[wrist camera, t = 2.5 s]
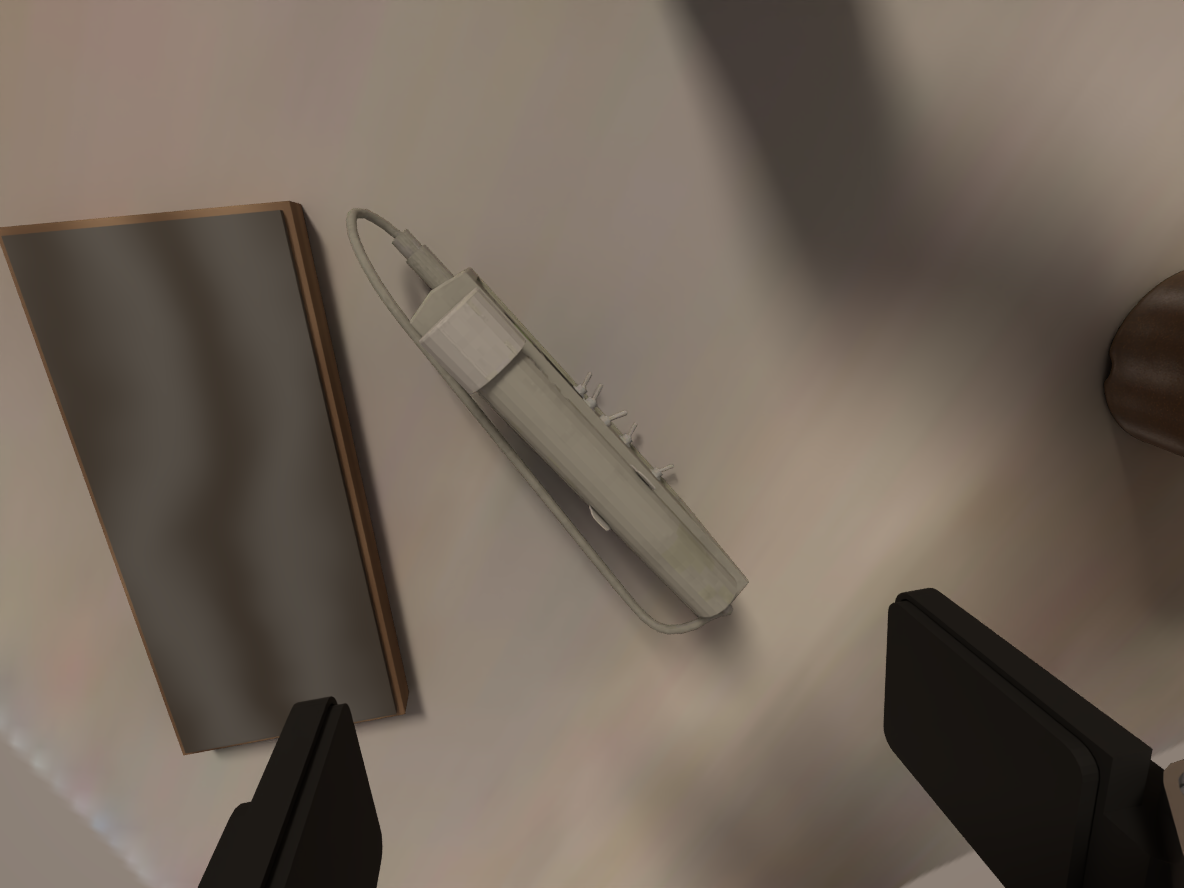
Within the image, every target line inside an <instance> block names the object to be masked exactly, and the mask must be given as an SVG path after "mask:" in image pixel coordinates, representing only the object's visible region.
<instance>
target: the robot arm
mask: <svg viewBox="0 0 1184 888" xmlns="http://www.w3.org/2000/svg"><path fill="white" fill-rule="evenodd" d="M884 733H885V737H886V740H887V742H888V744H889V746H890V748H891V749H892V750H893V752H894V753H895V754H896V755H897V757H898V758H899V759H900V760H901V762H902V763H903V764H904V765H905V766H906V768H907V769H908V770H909V771H910V772H911V774H912V775H913V776H914V777H915V779H916V780H917V781H918V782H919V783H920V785H921V786H922V787H923V788H924V789H925V791H926V792H927V793H928V794H929V796H930V797H931V798H932V799H933V800H934V802H935V803H936V804H937V805H938V806H939V808H940V809H941V810H942V811H943V813H944V814H945V815H946V816H947V817H948V819H949V820H950V821H951V822H952V824H953V825H954V826H955V827H956V828H957V830H958V831H959V832H960V833H961V834H962V836H963V837H964V838H965V839H966V841H967V842H968V843H969V844H970V845H971V847H972V848H973V849H974V850H975V851H976V853H977V854H978V855H979V856H980V858H981V859H982V860H983V861H984V862H985V864H986V865H987V866H988V867H989V868H990V870H991V871H992V872H993V873H994V874H995V876H996V877H997V878H998V879H999V881H1000V882H1001V883H1002V884H1003V885H1004V887H1005V888H1184V759H1183V760H1180V761H1177V762H1174V763H1171V764H1170V765H1169V766H1168V767H1167V768H1166V769H1165V770H1164V769H1162V768H1161V767H1160V766H1158V765H1157V764H1156V763H1154V762H1153V761H1152V760H1151V754H1152V748H1151V747H1149V746H1148V745H1146V744H1145V743H1144V742H1142V741H1141V740H1140V739H1138V738H1137V737H1136V736H1134V735H1133V734H1132V733H1130V732H1129V731H1127V730H1126V729H1125V728H1123V727H1122V726H1121V725H1119V724H1118V723H1117V722H1115V721H1114V720H1113V719H1111V718H1110V717H1109V716H1107V715H1106V714H1104V713H1103V712H1102V711H1100V710H1099V709H1098V708H1096V707H1095V706H1094V705H1092V704H1091V703H1090V702H1088V701H1087V700H1085V699H1084V698H1083V697H1081V696H1080V695H1079V694H1077V693H1076V692H1075V691H1073V690H1072V689H1071V688H1069V687H1068V686H1067V685H1065V684H1064V683H1062V682H1061V681H1060V680H1058V679H1057V678H1056V677H1054V676H1053V675H1052V674H1050V673H1049V672H1048V671H1046V670H1045V669H1043V668H1042V667H1041V666H1039V665H1038V664H1037V663H1035V662H1034V661H1033V660H1031V659H1030V658H1029V657H1027V656H1026V655H1025V654H1023V653H1022V652H1020V651H1019V650H1018V649H1016V648H1015V647H1014V646H1012V645H1011V644H1010V643H1008V642H1007V641H1006V640H1004V639H1003V638H1001V637H1000V636H999V635H997V634H996V633H995V632H993V631H992V630H991V629H989V628H988V627H987V626H985V625H984V624H983V623H981V622H980V621H978V620H977V619H976V618H974V617H973V616H972V615H970V614H969V613H968V612H966V611H965V610H964V609H962V608H961V607H959V606H958V605H957V604H955V603H954V602H953V601H951V600H950V599H949V598H947V597H946V596H945V595H943V594H942V593H941V592H939V591H938V590H936V589H934V588H926V589H920V590H915V591H909V592H904V593H900V594H899V595H898V596H897V598H896V600H895V603H892V604H891V605H890V606H889V610H888V629H887V654H886V678H885V703H884ZM381 859H382V834H381V829H380V825H379V821H378V817H377V813H376V809H375V805H374V802H373V798H372V794H371V790H370V786H369V782H368V778H367V774H366V770H365V766H364V762H363V758H362V754H361V750H360V746H359V742H358V738H357V734H356V730H355V726H354V722H353V718H352V714H351V711H350V708H349V706H348V704H346V703H344V704H338V703H337V701H336V699H335V698H334V697H332V696H330V697H324V698H319V699H313V700H308V701H302V702H297V703H295V704H294V705H293V707H292V709H291V711H290V713H289V716H288V718H287V720H286V722H285V725H284V727H283V729H282V732H281V734H280V736H279V739H278V741H277V743H276V746H275V748H274V750H273V752H272V755H271V757H270V759H269V762H268V764H267V766H266V769H265V771H264V773H263V776H262V778H261V780H260V782H259V785H258V787H257V789H256V792H255V794H254V796H253V799H252V801H251V802H247V803H242V804H240V805H239V806H238V807H237V808H235V810H234V812H233V813H232V815H231V817H230V818H229V820H228V823H227V825H226V827H225V829H224V831H223V834H222V836H221V838H220V840H219V842H218V844H217V847H216V849H215V851H214V853H213V855H212V857H211V860H210V862H209V864H208V866H207V868H206V871H205V873H204V875H203V877H202V879H201V881H200V884H199V886H198V888H377V882H378V876H379V871H380V865H381Z"/></svg>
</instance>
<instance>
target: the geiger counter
mask: <svg viewBox="0 0 1184 888" xmlns="http://www.w3.org/2000/svg"><path fill="white" fill-rule="evenodd" d="M357 218H365V219H367V220H369V221H371V222H373V223H374V224H376V225H378V226H379V227H381V228H382V229H384V230H385V231H386V232H387V233H389V234H390V235H391V236H392V237H394V238H395V239H394V240H393V242H392V244H393V245H394V246H395V247H396V248H397V249H398V250H399V251H400V252H401V254H402V255H403V256H404V257H405V258H406V259H407V261H406V263H407V264H408V265H409V266H410V267H411V268H412V269H413V270H414V271H415V272H416V273H417V274H418V275H419V276H420V278H421V279H422V280H423V281H424V282H425V283H426V284H427V285H428V286H429V287H430V288H431V289H432V290H431V291H430V293H429V294H428V296H427V297H426V299H425V300H424V301H423V303H422V304H421V306H420V307H419V309H418V310H417V311H416V313H415V314H414V316H413V317H412V319H411V320H410V321H409V319H408V318H407V317H406V315H405V314H404V313H403V311H402V310H401V309H400V307H399V306H398V305H397V303H396V302H395V301H394V299H393V298H392V296H391V295H390V293H389V292H388V290H387V289H386V287H385V286H384V284H383V283H382V281H381V280H380V278H379V276H378V275H377V273H376V271H375V269H374V268H373V266H372V264H371V262H370V260H369V259H368V257H367V255H366V253H365V250H364V248H363V246H362V243H361V241H360V238H359V235H358V232H357V222H356V221H357ZM346 226H347V234H348V237H349V240H350V243H351V245H352V248H353V250H354V253H355V255H356V257H357V259H358V261H359V263H360V265H361V267H362V269H363V271H364V272H365V274H366V276H367V278H368V279H369V281H370V283H371V284H372V286H373V288H374V289H375V291H376V292H377V294H378V295H379V297H380V298H381V300H382V301H383V303H384V304H385V305H386V307H387V308H388V309H389V311H390V312H391V313H392V315H393V316H394V317H395V319H396V320H397V321H398V323H399V324H400V325H401V326H402V328H403V329H404V330H405V331H406V333H407V334H408V335H409V336H410V338H411V339H412V340H413V341H414V343H415V344H416V345H417V346H418V347H419V349H420V350H421V351H422V352H423V354H424V355H425V356H426V357H427V359H428V360H429V361H430V362H431V364H432V365H433V366H434V367H435V368H436V370H437V371H438V372H439V373H440V375H441V376H442V377H443V378H444V380H445V381H446V382H447V383H448V385H449V386H450V387H451V388H452V389H453V391H454V392H455V393H456V394H457V396H458V397H459V398H460V399H461V401H462V402H463V403H464V404H465V405H466V407H467V408H468V409H469V410H470V412H471V413H472V414H473V415H474V417H475V418H476V419H477V420H478V422H479V423H480V424H481V425H482V426H483V428H484V429H485V430H486V431H487V433H488V434H489V435H490V436H491V438H492V439H493V440H494V441H495V443H496V444H497V445H498V446H499V447H500V449H501V450H502V451H503V452H504V454H505V455H506V456H507V457H508V459H509V460H510V461H511V462H512V464H513V465H514V466H515V467H516V468H517V470H518V471H519V472H520V473H521V475H522V476H523V477H524V478H525V480H526V481H527V482H528V483H529V485H530V486H531V487H532V488H533V489H534V491H535V492H536V493H537V494H538V496H539V497H540V498H541V499H542V501H543V502H544V503H545V504H546V505H547V507H548V508H549V509H550V510H551V512H552V513H553V514H554V515H555V517H556V518H557V519H558V520H559V522H560V523H561V524H562V525H563V526H564V528H565V529H566V530H567V531H568V533H569V534H570V535H571V536H572V538H573V539H574V540H575V541H576V543H577V544H578V545H579V546H580V547H581V549H582V550H583V551H584V552H585V554H586V555H587V556H588V557H589V559H590V560H591V561H592V562H593V564H594V565H595V566H596V567H597V568H598V570H599V571H600V572H601V573H602V575H603V576H604V577H605V578H606V580H607V581H608V582H609V583H610V585H611V586H612V587H613V588H614V589H615V591H616V592H617V593H618V594H619V595H620V597H621V598H622V599H623V600H624V601H625V602H626V604H627V605H628V606H629V607H630V608H631V609H632V611H633V612H634V613H635V614H636V615H637V616H638V617H639V618H640V619H641V620H642V621H643V622H645V623H646V624H647V625H648V626H649V627H651V628H653V629H654V630H656V631H658V632H661V633H665V634H682V633H686V632H689V631H692V630H696V629H698V628H699V627H701V626H703V625H704V624H706V623H707V622H709V621H711V620H713V619H716V618H719V617H721V616H726V615H730V614H731V613H732V611H733V608H732V606H731V603H732V602H733V601H734V600H735V598H736V597H737V596H738V595H739V594H740V592H741V591H742V590H743V589H744V588H745V586H746V585H747V584H748V583H749V582H748V579H747V578H746V577H745V576H744V575H743V573H742V572H741V571H740V570H739V569H738V567H737V566H736V565H735V564H734V562H733V561H732V560H731V559H730V558H729V556H728V555H727V554H726V553H725V551H724V550H723V549H722V548H721V547H720V545H719V544H718V543H717V542H716V540H715V539H714V538H713V537H712V536H711V534H710V533H709V532H708V531H707V529H706V528H705V527H704V526H703V525H702V523H701V522H700V521H699V520H698V518H697V517H696V516H695V515H694V514H693V512H692V511H691V510H690V509H689V507H688V506H687V505H686V504H685V503H684V501H683V500H682V499H681V498H680V497H679V496H678V495H677V494H676V493H675V491H674V490H673V489H672V488H671V487H670V486H669V485H668V484H667V483H666V482H665V480H664V479H663V478H662V477H661V476H662V475H663V474H662V473H661V472H663V471H666V470H668V469H671V468H673V467H674V465H673V464H671V465H668V466H666V467H664V468H662V469H659V468H656V467H655V468H653V467H652V466H651V465H650V464H649V463H648V462H647V461H646V460H645V458H644V457H643V456H642V455H641V454H640V453H639V452H638V451H637V450H636V449H635V447H634V446H633V445H632V444H631V442H632V440H631V435H632V433H633V432H634V430H635V428H636V426H637V424H636V423H634V424H633V425H632V427H631V429H630V431H629V433H628V435H626V434H624V435H623V434H622V433H621V432H620V431H619V430H618V429H617V428H616V427H615V425H614V424H613V423H612V422H611V421H612V420H614V419H617V418H620V417H623V416H626V415H627V411H625V410H624V411H622V412H619V413H617V414H615V415H612V416H610V417H608V416H605V414H604V413H603V412H602V411H601V410H600V409H599V408H598V407H597V404H596V398H597V396H598V395H599V393H600V391H601V389H602V387H603V385H602V384H599V385H598V387H597V389H596V391H595V393H594V395H593V398H591V397H590V396H589V397H588V396H587V395H586V394H585V393H586V392H587V391H586V385H587V383H588V381H589V379H590V378H591V376H592V373H591V372H589V373H588V374H587V377H586V379H585V381H584V383H583V385H581V384H579V385H577V384H576V383H575V381H574V380H573V379H572V378H571V377H570V376H569V375H568V374H567V373H566V372H565V370H564V369H563V368H562V367H561V366H560V365H559V364H558V363H557V362H556V361H555V359H554V358H553V357H552V356H551V355H550V354H549V353H548V352H547V351H546V350H545V349H544V347H543V346H542V345H541V344H540V343H539V342H538V341H537V340H536V339H535V338H534V336H533V335H532V334H531V333H530V332H529V331H528V330H527V329H526V328H525V327H524V325H523V324H522V323H521V322H520V321H519V320H518V319H517V318H516V317H515V316H514V314H513V313H512V312H511V311H510V310H509V309H508V308H507V307H506V306H505V305H504V303H503V302H502V301H501V300H500V299H499V298H498V297H497V296H496V295H495V294H494V292H493V291H492V290H491V289H490V288H489V287H488V286H487V285H486V284H485V283H484V281H483V280H482V279H481V278H480V277H479V276H478V275H477V274H476V273H475V272H474V270H473V269H472V268H470V267H469V268H467V269H466V270H464V271H462V272H461V273H459V274H457V275H456V276H453V274H452V273H451V272H450V271H449V270H448V269H447V268H446V267H445V266H444V265H443V264H442V263H441V262H440V260H439V259H438V258H437V257H436V256H435V255H434V254H433V253H432V252H431V251H430V250H429V249H428V247H427V246H426V245H423V246H422V245H421V244H420V243H419V242H418V241H417V240H416V238H415V237H414V236H413V235H412V234H411V233H410V232H409V231H408V230H407V229H406V230H404V231H403V232H400V231H399V230H398V229H396V228H395V227H394V226H393V225H392V224H390V223H389V222H388V221H386V220H385V219H383V218H382V217H380V216H379V215H377V214H375V213H373V212H371V211H369V210H367V209H352V210H351V211H350V212H348V214H347V218H346ZM467 392H468V393H469V394H472V393H474V392H477V393H478V394H479V395H480V396H481V397H482V398H483V399H484V400H485V401H486V402H487V403H488V404H489V405H490V406H491V407H492V408H493V409H494V410H495V411H496V412H497V413H498V414H499V415H500V416H501V417H502V418H503V419H504V420H505V421H506V422H507V423H508V424H509V425H510V426H511V427H512V428H513V429H514V430H515V431H516V432H517V433H518V434H519V435H520V437H521V438H522V439H523V440H524V441H525V442H526V443H527V444H528V445H529V446H530V447H531V448H532V449H533V450H534V451H535V452H536V453H537V454H538V455H539V456H540V457H541V458H542V459H543V460H544V461H545V462H546V463H547V464H548V465H549V466H550V467H551V468H552V469H553V470H554V471H555V472H556V473H557V474H558V475H559V476H560V477H561V478H562V479H563V480H564V481H565V482H566V483H567V484H568V485H569V486H570V487H571V488H572V489H573V490H574V492H575V493H576V494H577V495H578V496H579V497H580V498H581V499H582V500H583V501H584V502H585V503H586V504H587V505H588V506H589V509H590V510H591V515H592V516H593V518H594V519H595V520H596V521H597V522H598V524H599V525H600V526H601V527H602V528H604V529H605V530H606V531H609V530H610V528H611V529H612V530H613V531H614V532H615V533H616V534H617V535H618V536H619V537H620V538H621V539H622V540H623V541H624V542H625V543H626V544H627V546H628V547H629V548H630V549H631V550H632V551H633V552H634V553H635V554H636V555H637V556H638V557H639V558H640V559H641V560H642V561H643V562H644V563H645V564H646V565H647V566H648V567H649V568H650V569H651V570H652V571H653V572H654V573H655V574H656V575H657V576H658V577H659V578H660V579H661V580H662V581H663V582H664V583H665V584H666V585H667V586H668V587H669V588H670V589H671V590H672V591H673V592H674V593H675V594H676V595H677V596H678V597H679V598H680V599H681V601H682V602H683V603H684V604H685V605H686V606H687V607H688V608H689V609H690V610H691V611H692V612H693V613H694V614H695V615H696V616H697V617H698V619H696V620H694V621H691V622H688V623H684V624H681V625H665V624H661V623H659V622H657V621H656V620H654V619H653V618H652V617H650V616H649V615H648V614H647V613H646V612H645V611H644V610H643V609H642V608H641V607H640V606H639V605H638V604H637V602H636V601H635V600H634V599H633V598H632V596H631V595H630V594H629V593H628V592H627V590H626V589H625V588H624V587H623V586H622V584H621V583H620V582H619V581H618V579H617V578H616V577H615V576H614V574H613V573H612V572H611V571H610V569H609V568H608V567H607V566H606V564H605V563H604V562H603V561H602V559H601V558H600V557H599V556H598V554H597V553H596V552H595V551H594V549H593V548H592V547H591V546H590V544H589V543H588V542H587V541H586V540H585V538H584V537H583V536H582V535H581V533H580V532H579V531H578V530H577V528H576V527H575V526H574V525H573V523H572V522H571V521H570V520H569V518H568V517H567V516H566V515H565V513H564V512H563V511H562V510H561V508H560V507H559V506H558V505H557V503H556V502H555V501H554V500H553V498H552V497H551V496H550V495H549V493H548V492H547V491H546V490H545V489H544V487H543V486H542V485H541V484H540V482H539V481H538V480H537V479H536V477H535V476H534V475H533V474H532V472H531V471H530V470H529V469H528V467H527V466H526V465H525V464H524V462H523V461H522V460H521V459H520V457H519V456H518V455H517V454H516V452H515V451H514V450H513V449H512V447H511V446H510V445H509V444H508V442H507V441H506V440H505V439H504V438H503V436H502V435H501V434H500V433H499V431H498V430H497V429H496V428H495V426H494V425H493V424H492V423H491V421H490V420H489V419H488V418H487V416H486V415H485V414H484V413H483V411H482V410H481V409H480V408H479V406H478V405H477V404H476V403H475V401H474V400H473V399H472V398H471V396H470V395H469V394H468V393H467Z"/></svg>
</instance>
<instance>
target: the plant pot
mask: <svg viewBox="0 0 1184 888" xmlns="http://www.w3.org/2000/svg"><path fill="white" fill-rule="evenodd" d="M1109 355H1110V358H1111V361H1112V369H1111V373H1110V375H1109V377H1108V379H1107V380H1106V381H1105V382H1104V389H1105V396H1106V400H1107V404H1108V407H1109V409H1110V411H1111V413H1112V415H1113V417H1114V418H1115V420H1116V421H1117V423H1118V424H1119V425H1120V426H1121V427H1122V428H1123V429H1124V430H1125V431H1126V432H1127V433H1129V434H1130V435H1132V436H1134V437H1135V438H1137V439H1139V440H1141V441H1143V442H1147V443H1150V444H1152V445H1155V446H1157V447H1160V448H1163V449H1165V450H1168V451H1170V452H1173V453H1175V454H1178V455H1180V456H1183V457H1184V271H1181V272H1179V273H1177V274H1175V275H1173V276H1171V277H1169V278H1167V279H1166V280H1164V281H1163V282H1161V283H1160V284H1159V285H1157V286H1156V287H1155V288H1153V289H1152V290H1151V291H1150V292H1149V293H1148V294H1146V295H1145V296H1144V297H1143V298H1142V299H1141V300H1140V301H1139V302H1138V304H1137V305H1136V306H1135V307H1134V308H1133V310H1132V311H1131V312H1130V313H1129V315H1128V316H1127V317H1126V319H1125V320H1124V322H1123V324H1122V325H1121V327H1120V328H1119V330H1118V332H1117V334H1116V336H1115V338H1114V340H1113V343H1112V345H1111V348H1110V351H1109Z"/></svg>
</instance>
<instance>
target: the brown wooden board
mask: <svg viewBox="0 0 1184 888" xmlns="http://www.w3.org/2000/svg"><path fill="white" fill-rule="evenodd" d="M0 244H1V247H2V250H3V253H4V256H5V258H6V261H7V264H8V267H9V270H10V272H11V275H12V278H13V281H14V283H15V286H16V289H17V292H18V295H19V297H20V300H21V303H22V306H23V309H24V311H25V314H26V317H27V320H28V323H29V325H30V328H31V331H32V334H33V337H34V339H35V342H36V345H37V348H38V350H39V353H40V356H41V359H42V362H43V364H44V367H45V370H46V373H47V376H48V378H49V381H50V384H51V387H52V390H53V392H54V395H55V398H56V401H57V404H58V406H59V409H60V412H61V415H62V418H63V420H64V423H65V426H66V429H67V431H68V434H69V437H70V440H71V443H72V445H73V448H74V451H75V454H76V457H77V459H78V462H79V465H80V468H81V471H82V473H83V476H84V479H85V482H86V485H87V487H88V490H89V493H90V496H91V499H92V501H93V504H94V507H95V510H96V512H97V515H98V518H99V521H100V524H101V526H102V529H103V532H104V535H105V538H106V540H107V543H108V546H109V549H110V552H111V554H112V557H113V560H114V563H115V566H116V568H117V571H118V574H119V577H120V580H121V582H122V585H123V588H124V591H125V593H126V596H127V599H128V602H129V605H130V607H131V610H132V613H133V616H134V619H135V621H136V624H137V627H138V630H139V633H140V635H141V638H142V641H143V644H144V647H145V649H146V652H147V655H148V658H149V660H150V663H151V666H152V669H153V672H154V674H155V677H156V680H157V683H158V686H159V688H160V691H161V694H162V697H163V700H164V702H165V705H166V708H167V711H168V714H169V716H170V719H171V722H172V725H173V728H174V730H175V733H176V736H177V739H178V741H179V744H180V747H181V750H182V753H183V755H188V754H194V753H199V752H204V751H210V750H215V749H220V748H226V747H231V746H236V745H242V744H247V743H252V742H258V741H263V740H268V739H274V738H279V736H280V734H281V732H282V729H283V727H284V725H285V722H286V720H287V718H288V716H289V713H290V711H291V709H292V707H293V705H294V704H295V703H297V702H302V701H308V700H313V699H319V698H324V697H330V696H332V697H334V698H335V699H336V701H337V703H338V704H344V703H346V704H348V706H349V708H350V711H351V714H352V718H353V722H354V723H359V722H364V721H370V720H375V719H380V718H386V717H391V716H396V715H402V714H405V711H406V706H407V700H408V695H409V690H408V685H407V681H406V676H405V672H404V667H403V663H402V658H401V654H400V649H399V645H398V640H397V636H396V631H395V627H394V622H393V618H392V613H391V609H390V604H389V599H388V595H387V590H386V586H385V581H384V577H383V572H382V568H381V563H380V559H379V554H378V550H377V545H376V541H375V536H374V532H373V527H372V523H371V518H370V513H369V509H368V504H367V500H366V495H365V491H364V486H363V482H362V477H361V473H360V468H359V464H358V459H357V455H356V450H355V446H354V441H353V436H352V432H351V427H350V423H349V418H348V414H347V409H346V405H345V400H344V396H343V391H342V387H341V382H340V378H339V373H338V369H337V364H336V360H335V355H334V350H333V346H332V341H331V337H330V332H329V328H328V323H327V319H326V314H325V310H324V305H323V301H322V296H321V292H320V287H319V283H318V278H317V274H316V269H315V264H314V260H313V255H312V251H311V246H310V242H309V237H308V233H307V228H306V224H305V219H304V215H303V210H302V206H301V204H299V203H295V202H291V201H283V202H272V203H261V204H250V205H239V206H228V207H217V208H206V209H196V210H185V211H174V212H163V213H152V214H141V215H130V216H119V217H108V218H98V219H87V220H76V221H65V222H54V223H43V224H32V225H21V226H11V227H0Z"/></svg>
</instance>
